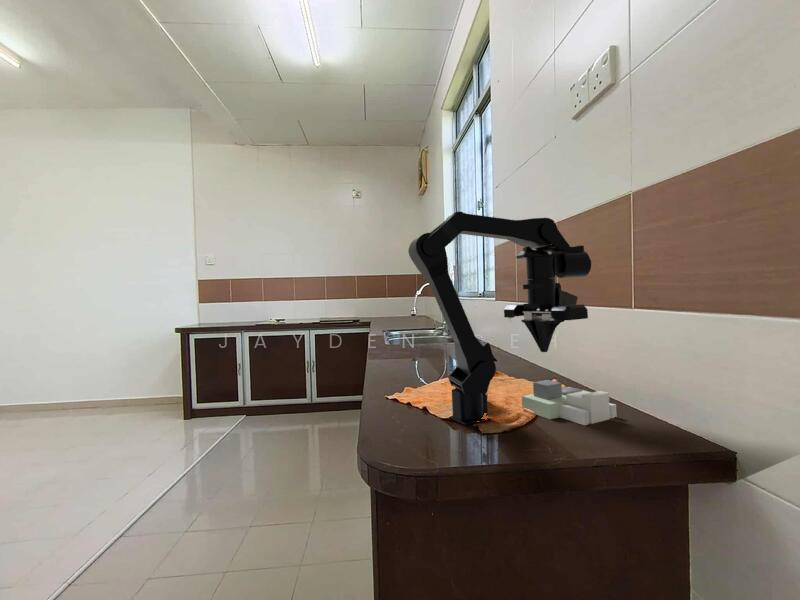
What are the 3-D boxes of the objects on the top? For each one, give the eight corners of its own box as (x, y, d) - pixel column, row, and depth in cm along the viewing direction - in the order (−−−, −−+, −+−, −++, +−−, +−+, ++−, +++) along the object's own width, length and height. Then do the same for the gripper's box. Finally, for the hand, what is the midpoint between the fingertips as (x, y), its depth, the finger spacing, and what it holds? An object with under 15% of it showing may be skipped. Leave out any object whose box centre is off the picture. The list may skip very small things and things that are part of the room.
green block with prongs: (574, 427, 76) (573, 395, 75) (522, 409, 88) (521, 382, 88) (625, 415, 81) (624, 385, 81) (569, 399, 94) (568, 374, 94)
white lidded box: (591, 424, 77) (590, 396, 77) (566, 416, 83) (565, 390, 83) (610, 419, 80) (608, 392, 80) (584, 412, 85) (583, 387, 85)
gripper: (605, 275, 82) (608, 352, 82) (537, 280, 99) (540, 344, 99) (565, 277, 77) (568, 359, 77) (501, 281, 94) (504, 349, 94)
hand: (544, 352), depth 87 cm, fingers closed
